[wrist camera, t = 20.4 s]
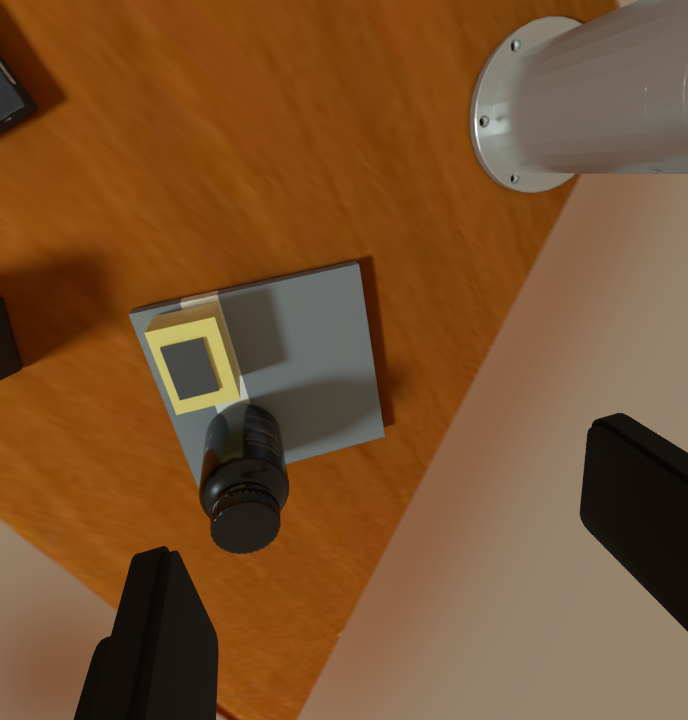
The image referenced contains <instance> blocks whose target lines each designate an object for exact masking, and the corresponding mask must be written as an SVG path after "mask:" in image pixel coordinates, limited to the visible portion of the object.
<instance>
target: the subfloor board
mask: <svg viewBox="0 0 688 720" xmlns="http://www.w3.org/2000/svg"><path fill="white" fill-rule="evenodd" d="M216 302H217V304H218V307H219V310H220V314H221V317H222V320H223V323H224V327H225V330H226V333H227V337H228V340H229V343H230V347H231V350H232V353H233V356H234V360H235V363H236V366H237V370H238V373H239V376H240V399H238V400H234V401H230V402H226V403H222V404H218V405H215V406H211V407H207V408H203V409H199V410H195V411H191V412H187V413H183V414H179V415H176V412H175V410H174V407H173V405H172V402H171V400H170V397H169V395H168V392H167V389H166V387H165V384H164V382H163V379H162V377H161V374H160V372H159V369H158V367H157V364H156V361H155V359H154V356H153V354H152V351H151V349H150V346H149V344H148V341H147V339H146V336H145V333H144V332H145V331H146V329H147V327H148V326H149V324H150V322H151V320H152V319H153V317H154V316H157V315H161V314H166V313H170V312H175V311H179V310H184V309H188V308H193V307H197V306H202V305H206V304H211V303H216ZM129 316H130V319H131V321H132V324H133V326H134V329H135V331H136V334H137V336H138V339H139V341H140V344H141V346H142V349H143V351H144V354H145V356H146V359H147V361H148V364H149V366H150V369H151V371H152V374H153V376H154V379H155V381H156V384H157V386H158V389H159V391H160V394H161V396H162V399H163V401H164V404H165V406H166V409H167V411H168V414H169V416H170V419H171V421H172V424H173V426H174V429H175V431H176V434H177V436H178V438H179V441H180V443H181V446H182V448H183V451H184V453H185V456H186V458H187V461H188V463H189V466H190V468H191V471H192V473H193V476H194V478H195V481H196V483H197V486H198V488H200V479H201V470H202V461H203V453H204V444H205V437H206V432H207V428H208V426H209V424H210V422H211V421H212V419H213V418H214V417H215V416H216V415H217V414H218V413H220V412H221V411H223V410H225V409H227V408H229V407H232V406H235V405H242V404H248V405H255V406H258V407H261V408H263V409H265V410H267V411H268V412H269V413H271V414H272V415H273V416H274V418H275V419H276V421H277V422H278V425H279V428H280V432H281V437H282V443H283V449H284V455H285V461H286V464H288V463H291V462H295V461H299V460H302V459H306V458H309V457H313V456H317V455H320V454H324V453H327V452H331V451H335V450H338V449H342V448H345V447H349V446H352V445H356V444H360V443H363V442H367V441H370V440H374V439H378V438H381V437H385V434H384V428H383V421H382V414H381V408H380V401H379V394H378V388H377V381H376V374H375V368H374V361H373V354H372V347H371V341H370V334H369V327H368V321H367V314H366V307H365V301H364V294H363V287H362V281H361V274H360V267H359V263H357V262H356V261H351V262H346V263H342V264H337V265H332V266H328V267H323V268H319V269H314V270H309V271H305V272H300V273H296V274H291V275H286V276H282V277H277V278H273V279H268V280H264V281H259V282H254V283H250V284H245V285H241V286H236V287H231V288H227V289H222V290H218V291H213V292H208V293H204V294H199V295H195V296H190V297H185V298H181V299H176V300H172V301H167V302H162V303H158V304H153V305H149V306H144V307H140V308H135V309H132V311H131V312H130V313H129Z"/></svg>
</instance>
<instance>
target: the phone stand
mask: <svg viewBox="0 0 688 720" xmlns="http://www.w3.org/2000/svg"><path fill="white" fill-rule="evenodd" d="M20 370H22V367H21V363H20V359H19V356H18V352H17V349H16V345H15V342H14V338H13V335H12V331H11V328H10V324H9V321H8V317H7V313H6V310H5V306H4V303H3V299H2V297H0V380H2V379H4V378H6V377H8V376H10V375H12V374H14V373H16V372H18V371H20Z"/></svg>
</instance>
